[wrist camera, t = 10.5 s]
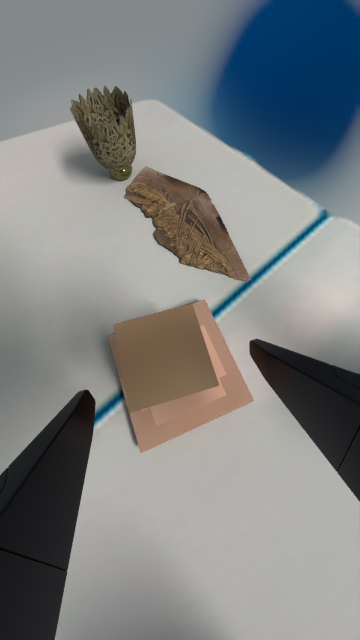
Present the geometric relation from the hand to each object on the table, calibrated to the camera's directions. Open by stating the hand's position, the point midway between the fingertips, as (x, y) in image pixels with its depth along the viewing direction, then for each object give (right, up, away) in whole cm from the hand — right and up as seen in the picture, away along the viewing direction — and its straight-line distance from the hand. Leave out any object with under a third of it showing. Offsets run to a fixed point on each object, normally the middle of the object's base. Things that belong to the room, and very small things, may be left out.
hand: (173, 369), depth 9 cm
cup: (-9, +27, +19) cm, 34 cm away
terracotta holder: (0, -3, +10) cm, 10 cm away
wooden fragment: (+1, +17, +17) cm, 24 cm away
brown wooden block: (0, -2, +9) cm, 9 cm away
